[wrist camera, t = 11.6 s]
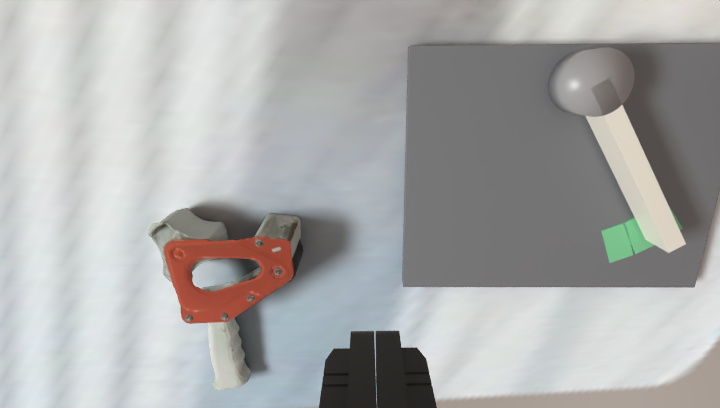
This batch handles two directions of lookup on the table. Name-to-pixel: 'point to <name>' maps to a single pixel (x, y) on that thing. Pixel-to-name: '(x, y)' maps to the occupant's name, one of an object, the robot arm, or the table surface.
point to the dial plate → (551, 169)
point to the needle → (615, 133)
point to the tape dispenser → (224, 302)
